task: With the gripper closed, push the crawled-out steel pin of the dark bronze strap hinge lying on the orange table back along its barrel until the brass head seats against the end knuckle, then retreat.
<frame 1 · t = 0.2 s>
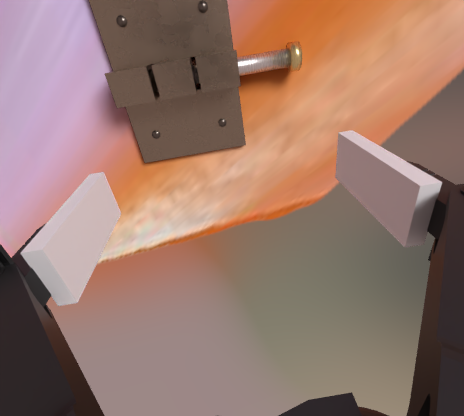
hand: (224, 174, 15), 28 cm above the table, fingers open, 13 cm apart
hinge: (177, 76, 37), on the table
pin: (233, 67, 36), point 2 cm above the table, slide at 7.0 cm
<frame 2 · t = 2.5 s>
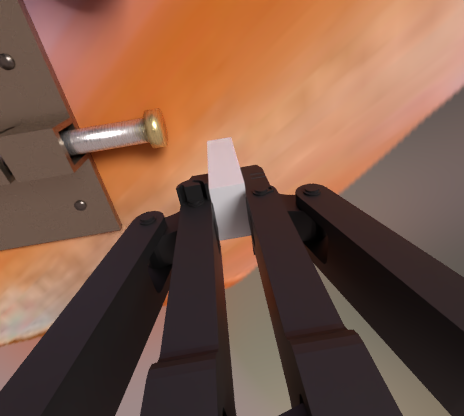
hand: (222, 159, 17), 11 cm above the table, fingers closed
hinge: (2, 149, 27), on the table
pin: (70, 143, 25), point 2 cm above the table, slide at 7.0 cm
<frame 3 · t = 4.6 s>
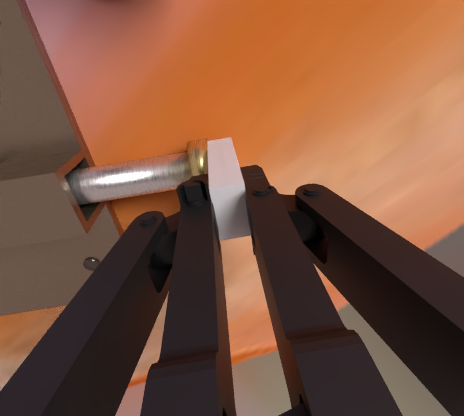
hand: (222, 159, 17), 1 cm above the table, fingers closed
pin: (76, 187, 17), point 2 cm above the table, slide at 6.6 cm, touching gripper
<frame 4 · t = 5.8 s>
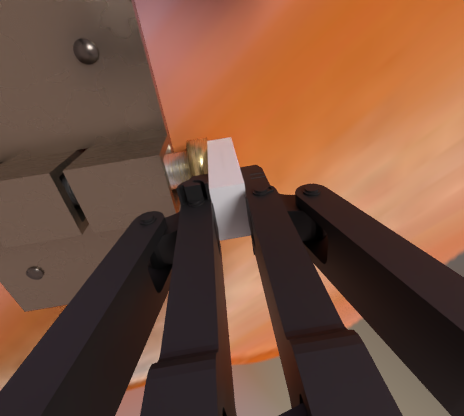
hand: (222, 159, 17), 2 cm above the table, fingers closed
hinge: (61, 179, 19), on the table
pin: (76, 187, 17), point 2 cm above the table, slide at 1.2 cm, touching gripper
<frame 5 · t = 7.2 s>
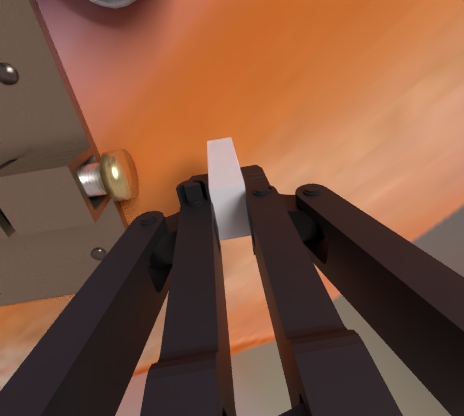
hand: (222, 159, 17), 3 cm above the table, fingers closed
hinge: (0, 186, 20), on the table
pin: (6, 194, 19), point 2 cm above the table, slide at 1.1 cm
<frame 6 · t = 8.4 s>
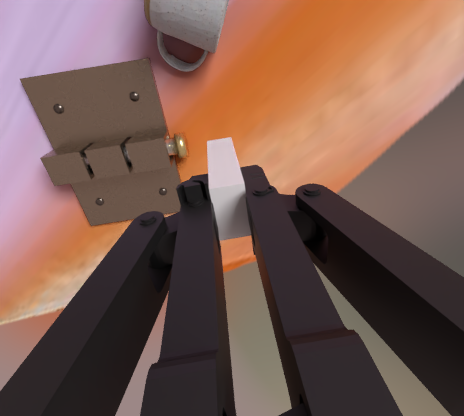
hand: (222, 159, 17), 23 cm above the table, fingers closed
hinge: (117, 152, 40), on the table
ceramic mug: (191, 20, 33), on the table
pin: (125, 154, 38), point 2 cm above the table, slide at 1.1 cm
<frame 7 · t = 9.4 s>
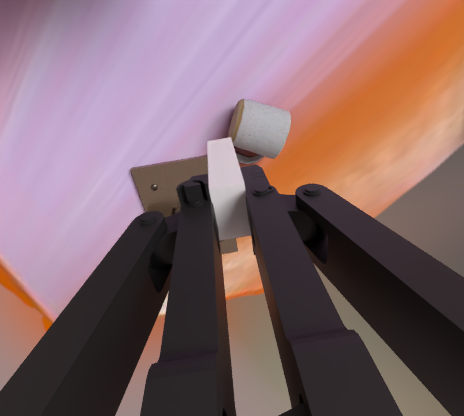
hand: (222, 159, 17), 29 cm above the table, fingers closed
hinge: (190, 212, 53), on the table
ceramic mug: (252, 130, 46), on the table
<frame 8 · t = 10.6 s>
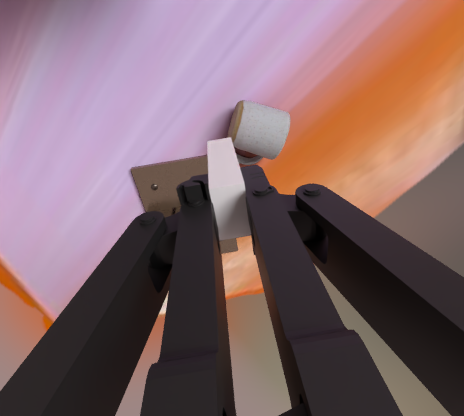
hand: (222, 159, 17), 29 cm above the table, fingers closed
hinge: (190, 212, 53), on the table
ceramic mug: (252, 131, 47), on the table
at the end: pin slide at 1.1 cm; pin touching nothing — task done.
